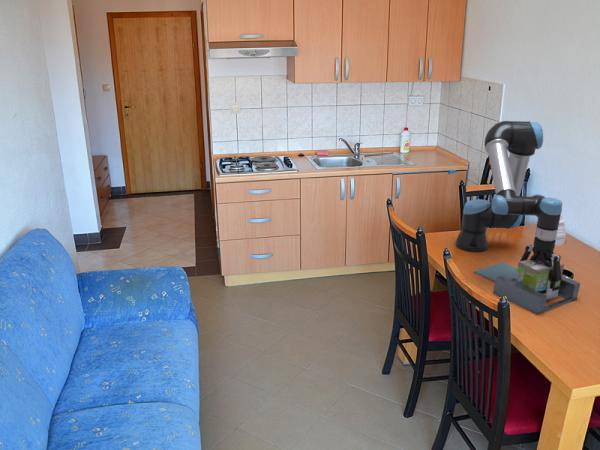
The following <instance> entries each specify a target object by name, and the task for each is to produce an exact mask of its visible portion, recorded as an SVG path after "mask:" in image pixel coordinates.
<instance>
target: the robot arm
mask: <svg viewBox="0 0 600 450" xmlns="http://www.w3.org/2000/svg"><path fill="white" fill-rule="evenodd" d="M543 143H544V130H543V126H542V124H541V123H539V122H537V121H530V120H528V121H523V120H522V121H520V120H519V121H516V120H515V121H514V120H503V121H502V120H501V121H499V122H497V123H495V124H494V125H492V126H491V128H489V130H488V132H487V133H486V135H485V138H484V149H485V152H486V153H487V154H488V159H489V165H490V169H491V173H492V174H491V175H492V180H493V186H494V192H495V195H494V196H492V200H491V202H490V200H486V199H482V198H481V199H479V198H478V199H471V200H468V201H466V202H465V203H464V206H463V210H462V219H461V220H462V221H461V230H460V232H459V234H458V235H457V238H456V239H455V240H456V241H455V246H456V247H457V248H458V249H459V250H463V251H466V252H472V253H482V252H485V251H488V248H489V243H488V239H487V238H488V237H487V229H488V228H490V229H516V228H518V227H519V226H520V225H521V223H522V222H523V221H522V220H523V218H524V217H523V216H535V217H536V218H537V223H536V228H535V229H536V230H535V235H534V239H533V245H531V244H530V245H526V246H525V250H524V253H523V254H522V257H521V258H520V260H519V262H520V261H524V260H532V261H533V260H536V259H537V260H540V261H542V262H544V264H545V265H546V266H547V267H552V266H553V267H554V269H552V270H550V272H549V277H550V280H548V284H547V290H546V296H549V295H551V294H552V289H553V288H555V283H556V282H558V281H560V280H562V278H561V269H560V263H561V262H560V261H561V258H562V257H561V255H556V254H555V253H554V249H555V248H556V245H555V242H556V240H555V239H556V237H557V231H558V225H559V221H560V216H561V215H562V212H563V211H562V210H563V201H562V200H561V199H558V198H554V197H546V196H544V195H542V194H538V193H535V194H533V195H531V196H530V195H529V196H528V195H527V196H523V195H521V192H522V188H523V185H524V181H525V177H526V173H527V168H528V167H529V166H528V165H529V161H530V158H531V157H532V156H533V155H535V154H536V150H539V149H541V148H542V146H543ZM531 254H532V256H530V255H531ZM529 257H530V258H529ZM552 260H553V265H552ZM547 261H548V262H547Z"/></svg>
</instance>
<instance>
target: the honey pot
mask: <svg viewBox="0 0 600 450" xmlns="http://www.w3.org/2000/svg"><path fill="white" fill-rule="evenodd" d="M565 223H566V220H565V219H564V217H563V215H562V214H561V216H560V221H559V225H558V231H557V237H556V239H555V240H556V242H555V247H556V246H563V245H565V243H566V242H565V241H566V235H567V232H566V226H565Z"/></svg>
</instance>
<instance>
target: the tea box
mask: <svg viewBox="0 0 600 450" xmlns="http://www.w3.org/2000/svg"><path fill="white" fill-rule="evenodd" d="M547 262H548V261H547ZM552 265H553V260H552ZM564 266H565V264H564V263H562V262H560V269H561V277H562V275H563V272H564V269H565V268H564ZM516 268H517V273H516V278H515V280H514V281H515V282H517V283H519V284H521V285H524V286H526V287H528V288H530V289H533V290H535V291H537V292H539V293H542V294H544V295H546V290H547V284H548V280H550V277H549V272H550V270H552V269H554V267H553V266H552V267H547V266H546V265H545V264H544V262H542V261H540V260H537V259H536V260H533V261H532V260H529V259H527V260H524V261H520V260H519V261H518V264H517V267H516ZM560 281H561V280H560ZM560 281H558V282H556V283H555V288H553V289H552V294H551V295H549V296H547V298H546V301H547V300H551V299H555V298H557V297H558V296H559V295H558V291H559V286H560Z"/></svg>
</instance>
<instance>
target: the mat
mask: <svg viewBox="0 0 600 450" xmlns="http://www.w3.org/2000/svg"><path fill="white" fill-rule="evenodd" d="M517 268H518V267H515V266H512V265H510V264H507V263H505V262H503V261H502V262H500V263H496V264H493V265H489V266H486V267H483V268H480V269H477V270H474V271H473V273H474V274H476V275H478V276H479V277H483V278H484V279H486V280H487V279H488V280H489V281H492V282H493V283H495V279H496V277H499V276H503V277H506V278H508V279H510V280H512V281H515V278H516V273H517Z"/></svg>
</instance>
